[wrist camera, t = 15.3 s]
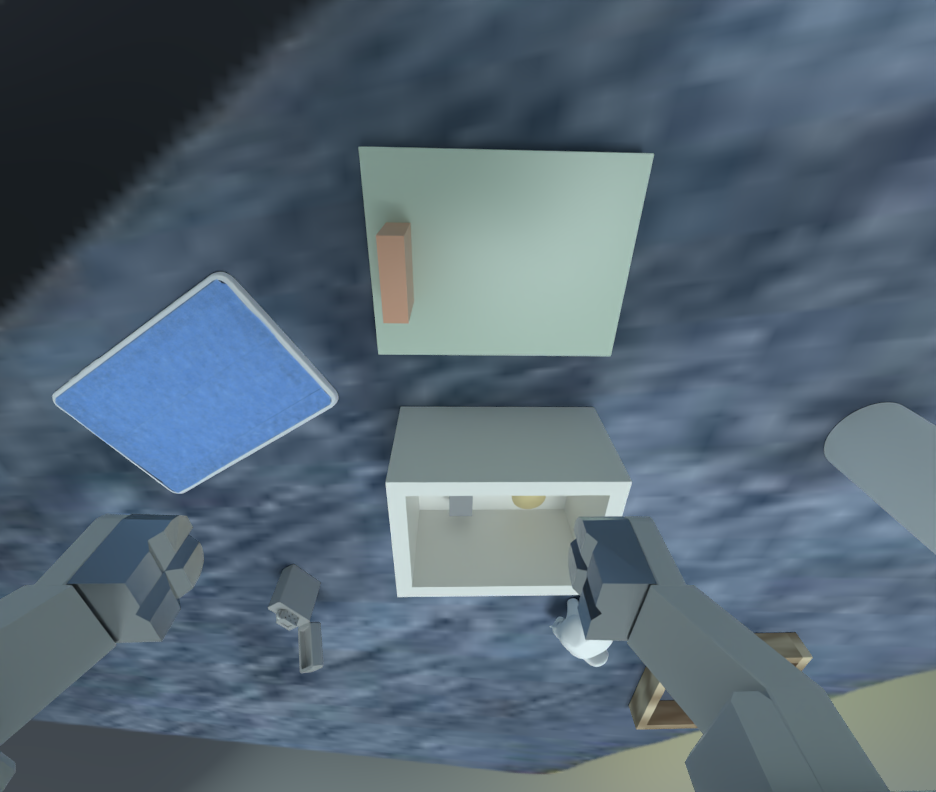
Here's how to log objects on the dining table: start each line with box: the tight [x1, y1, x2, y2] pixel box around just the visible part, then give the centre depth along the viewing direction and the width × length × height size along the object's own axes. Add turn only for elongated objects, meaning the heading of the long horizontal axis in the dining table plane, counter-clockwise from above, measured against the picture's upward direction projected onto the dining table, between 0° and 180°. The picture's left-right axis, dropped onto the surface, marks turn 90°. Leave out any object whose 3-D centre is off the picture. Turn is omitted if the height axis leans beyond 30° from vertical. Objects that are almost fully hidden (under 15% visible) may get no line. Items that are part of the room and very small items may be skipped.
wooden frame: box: [629, 633, 813, 729], centre depth 58 cm, size 18×17×3 cm
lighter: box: [268, 564, 323, 673], centre depth 43 cm, size 7×2×8 cm, turn 35°
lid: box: [358, 146, 654, 356], centre depth 27 cm, size 13×17×6 cm
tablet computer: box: [52, 272, 339, 493], centre depth 34 cm, size 19×13×1 cm, turn 121°
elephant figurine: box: [549, 598, 612, 667], centre depth 47 cm, size 7×8×6 cm
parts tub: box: [386, 407, 632, 597], centre depth 35 cm, size 12×16×9 cm
